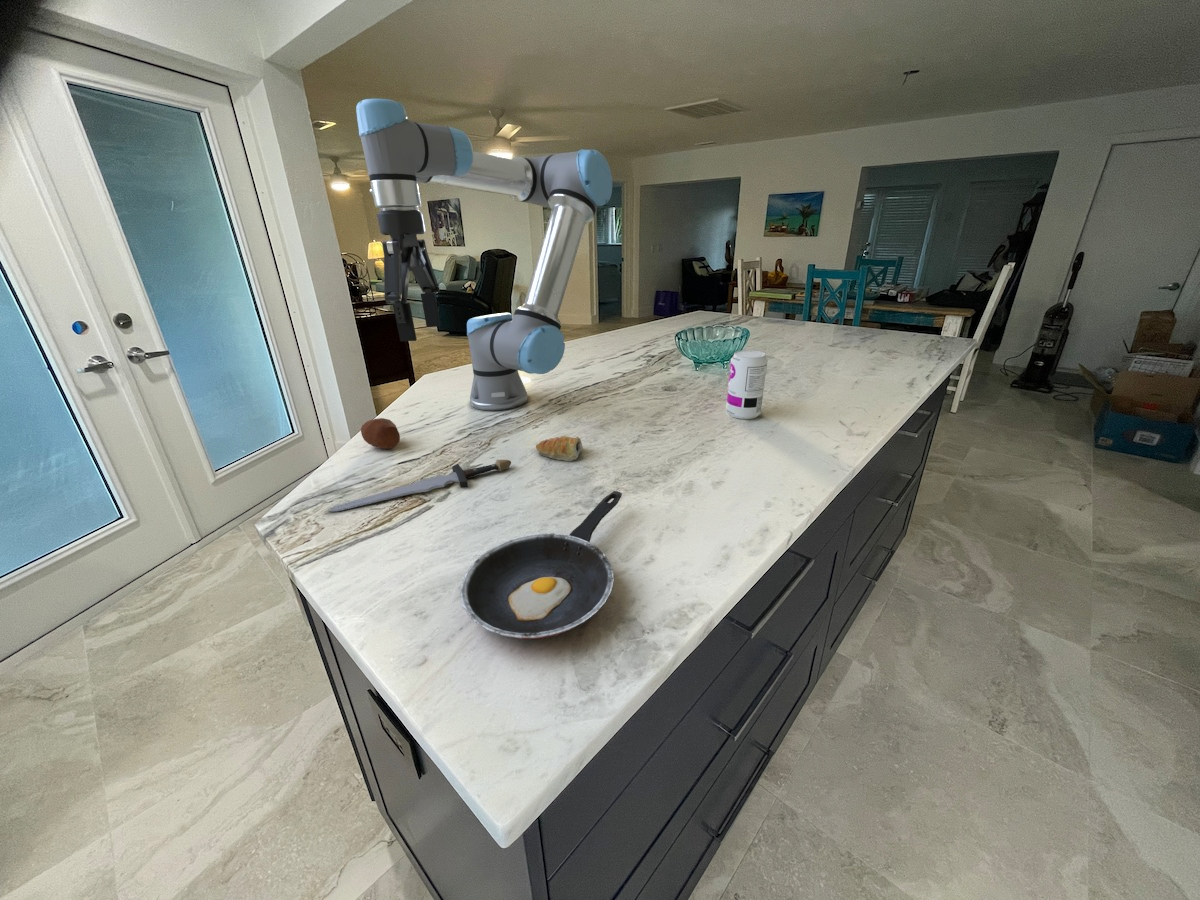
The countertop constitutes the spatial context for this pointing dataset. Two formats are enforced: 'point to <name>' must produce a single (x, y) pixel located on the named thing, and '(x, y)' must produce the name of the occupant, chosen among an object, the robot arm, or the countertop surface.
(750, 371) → the supplement can
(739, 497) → the countertop surface
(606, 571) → the frying pan
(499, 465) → the dagger
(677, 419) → the countertop surface
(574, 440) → the pastry
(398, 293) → the robot arm
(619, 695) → the countertop surface
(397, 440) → the potato
